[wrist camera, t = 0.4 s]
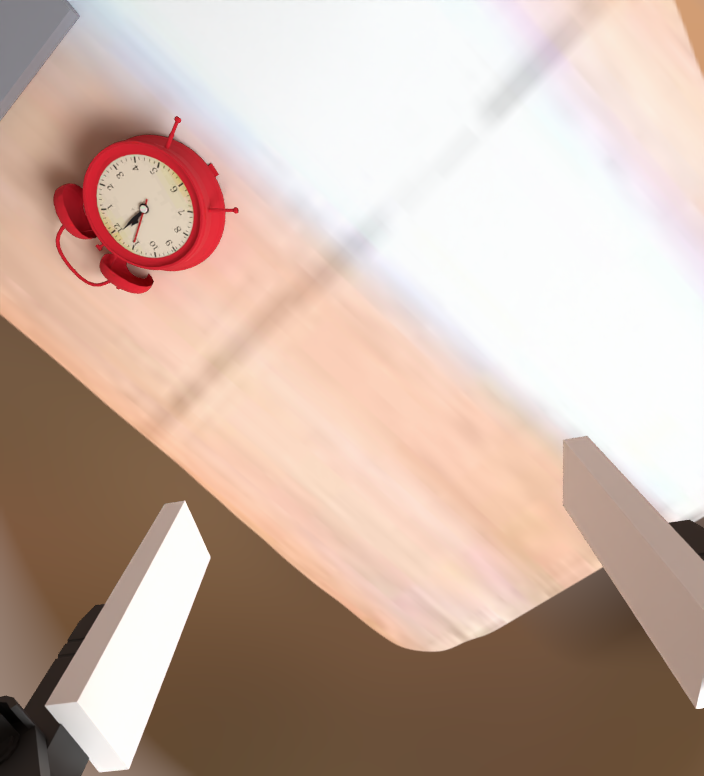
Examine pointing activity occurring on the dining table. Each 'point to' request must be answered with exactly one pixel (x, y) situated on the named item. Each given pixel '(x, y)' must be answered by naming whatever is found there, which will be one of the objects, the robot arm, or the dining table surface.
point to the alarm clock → (145, 209)
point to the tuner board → (28, 41)
